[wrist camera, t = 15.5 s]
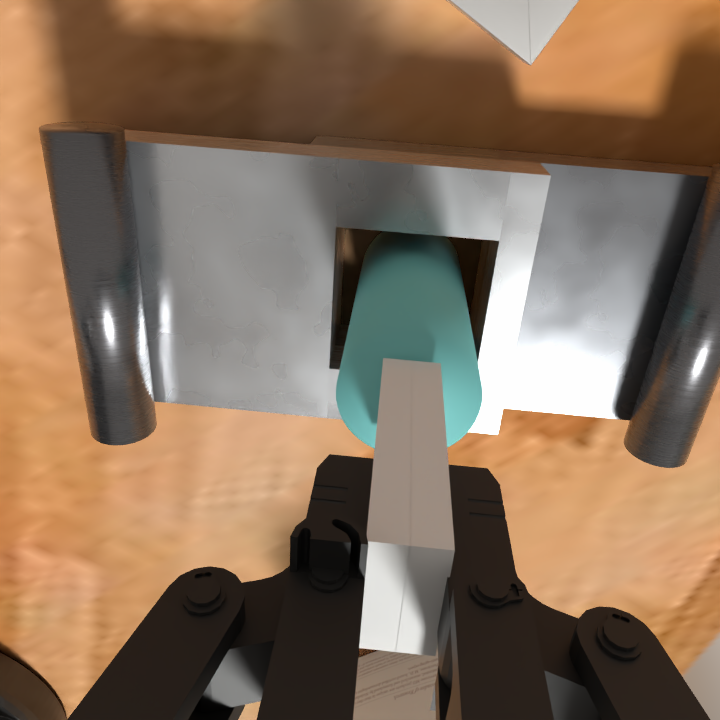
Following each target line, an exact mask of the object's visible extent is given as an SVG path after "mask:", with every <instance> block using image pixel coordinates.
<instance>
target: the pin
mask: <svg viewBox="0 0 720 720" xmlns="http://www.w3.org/2000/svg"><path fill="white" fill-rule="evenodd" d="M383 358H390V359H400V360H411V361H422V362H433V363H441V373H442V386H443V399H444V413H445V426H446V439H447V447H449V446H451V445H453V444H454V443H456V442H457V441H459V440H460V439H461V438H462V437H463V436H464V435H465V434H466V433H467V432H468V431H469V430H470V429H471V427H472V426H473V424H474V423H475V421H476V420H477V417H478V415H479V413H480V409H481V406H482V398H483V391H482V383H481V377H480V372H479V367H478V361H477V356H476V350H475V345H474V339H473V334H472V328H471V323H470V318H469V312H468V307H467V301H466V296H465V290H464V285H463V279H462V274H461V268H460V263H459V258H458V254H457V252H456V249H455V247H454V246H453V244H452V243H451V241H450V240H449V239H448V238H447V237H446V236H436V235H425V234H413V233H401V232H390V231H383V232H381V233H380V234H379V235H378V236H377V237H375V238H374V240H373V241H372V242H371V244H370V245H369V247H368V248H367V251H366V253H365V256H364V260H363V264H362V269H361V273H360V278H359V282H358V287H357V292H356V296H355V301H354V305H353V310H352V315H351V319H350V324H349V328H348V333H347V338H346V342H345V347H344V351H343V356H342V361H341V365H340V370H339V374H338V379H337V385H336V401H337V407H338V410H339V413H340V415H341V417H342V419H343V421H344V423H345V424H346V426H347V427H348V428H349V430H350V431H351V432H352V433H353V434H354V435H355V436H356V437H357V438H359V439H360V440H361V441H363V442H364V443H365V444H367V445H369V446H371V447H373V448H374V449H375V440H376V429H377V419H378V408H379V397H380V387H381V376H382V366H383Z"/></svg>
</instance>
